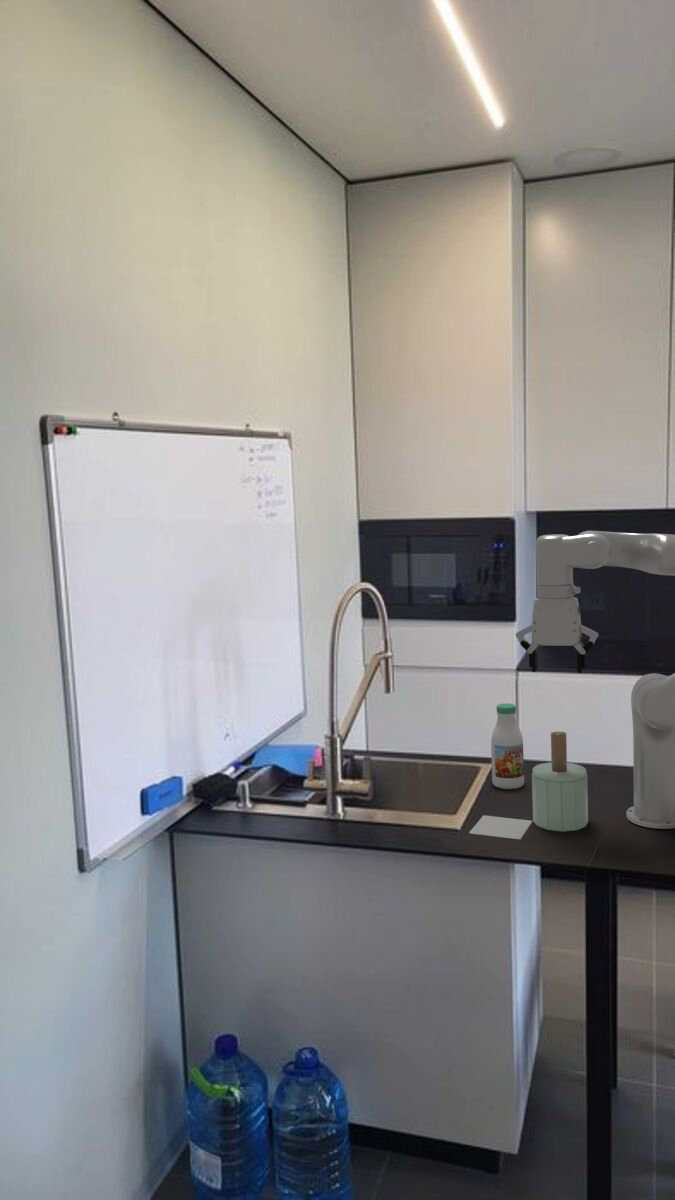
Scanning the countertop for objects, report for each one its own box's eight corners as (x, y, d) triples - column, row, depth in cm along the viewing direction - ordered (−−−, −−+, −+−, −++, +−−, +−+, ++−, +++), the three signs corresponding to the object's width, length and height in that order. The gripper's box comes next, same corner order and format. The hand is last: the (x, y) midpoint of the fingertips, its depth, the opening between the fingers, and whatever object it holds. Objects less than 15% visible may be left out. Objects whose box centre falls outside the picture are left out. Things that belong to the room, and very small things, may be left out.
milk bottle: (485, 785, 223) (483, 706, 221) (505, 777, 228) (502, 700, 226) (511, 792, 218) (509, 710, 215) (530, 784, 223) (528, 704, 220)
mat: (532, 823, 197) (532, 820, 197) (520, 842, 187) (520, 839, 187) (483, 817, 202) (483, 815, 202) (468, 835, 192) (468, 833, 192)
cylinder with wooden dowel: (591, 817, 199) (590, 728, 196) (582, 836, 189) (580, 742, 186) (540, 812, 203) (538, 725, 201) (528, 830, 193) (526, 738, 191)
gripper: (599, 590, 194) (600, 668, 196) (517, 590, 201) (520, 667, 203) (595, 594, 187) (597, 675, 189) (511, 595, 194) (514, 674, 196)
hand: (557, 671), depth 196 cm, fingers open, 9 cm apart
